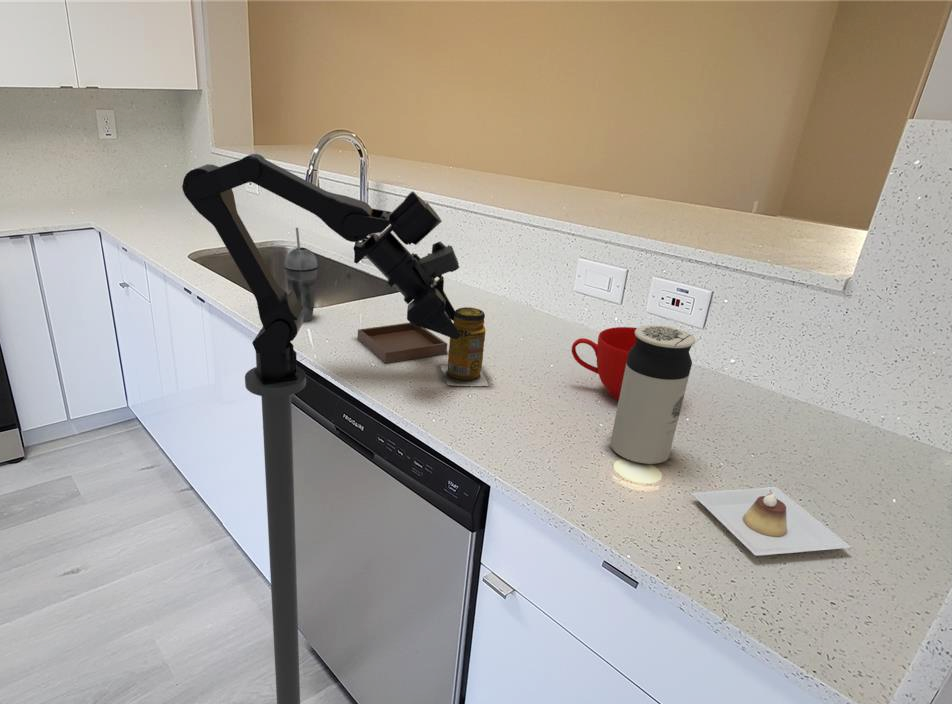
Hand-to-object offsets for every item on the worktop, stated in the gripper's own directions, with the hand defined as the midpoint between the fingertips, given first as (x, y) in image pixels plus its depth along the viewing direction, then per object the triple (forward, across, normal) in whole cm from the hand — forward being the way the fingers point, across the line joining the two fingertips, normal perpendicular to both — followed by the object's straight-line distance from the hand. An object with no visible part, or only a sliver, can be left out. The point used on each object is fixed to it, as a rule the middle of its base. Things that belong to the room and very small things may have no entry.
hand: (457, 328), depth 112 cm
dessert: (+32, -39, -19) cm, 54 cm away
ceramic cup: (+26, -3, -13) cm, 29 cm away
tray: (-1, +13, +14) cm, 19 cm away
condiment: (+8, 0, +5) cm, 10 cm away
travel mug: (+25, -23, -12) cm, 36 cm away
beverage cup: (-16, +26, +29) cm, 43 cm away
